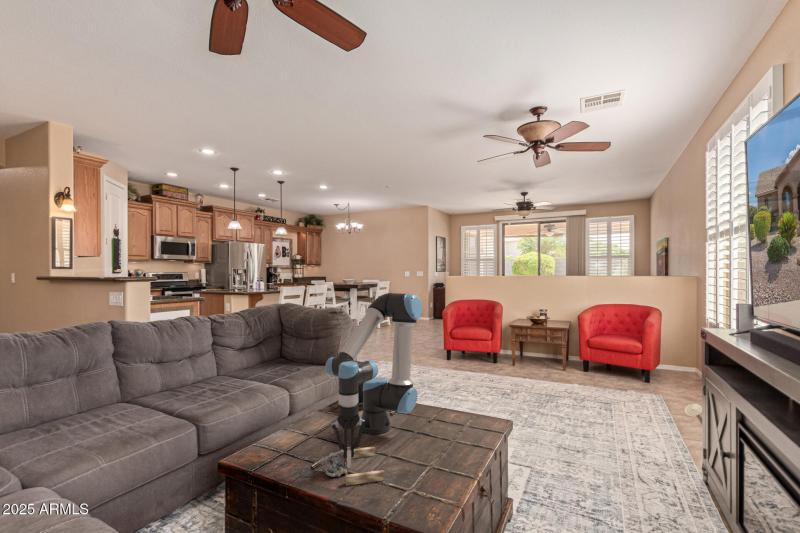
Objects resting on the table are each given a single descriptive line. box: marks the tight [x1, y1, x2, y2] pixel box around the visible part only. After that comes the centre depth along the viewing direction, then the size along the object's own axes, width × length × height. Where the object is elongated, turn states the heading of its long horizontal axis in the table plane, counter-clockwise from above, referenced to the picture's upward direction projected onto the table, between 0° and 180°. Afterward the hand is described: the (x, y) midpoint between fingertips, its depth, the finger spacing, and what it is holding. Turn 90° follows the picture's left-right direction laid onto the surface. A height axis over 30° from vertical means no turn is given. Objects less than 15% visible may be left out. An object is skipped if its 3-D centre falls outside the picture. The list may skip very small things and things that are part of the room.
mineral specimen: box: [319, 450, 349, 478], centre depth 143 cm, size 10×8×10 cm
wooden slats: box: [340, 446, 386, 487], centre depth 146 cm, size 14×20×3 cm
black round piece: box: [358, 383, 364, 412], centre depth 209 cm, size 13×13×15 cm
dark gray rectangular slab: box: [300, 469, 315, 479], centre depth 142 cm, size 5×4×1 cm
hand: (348, 465), depth 145 cm, fingers closed
